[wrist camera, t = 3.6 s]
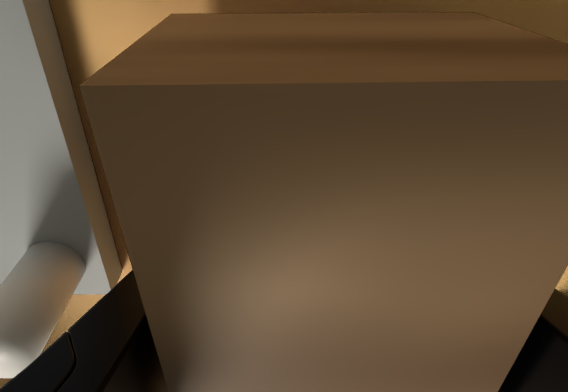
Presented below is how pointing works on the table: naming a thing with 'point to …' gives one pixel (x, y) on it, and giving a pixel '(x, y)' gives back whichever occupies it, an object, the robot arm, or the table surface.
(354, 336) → the block
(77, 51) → the table surface
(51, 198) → the chassis
